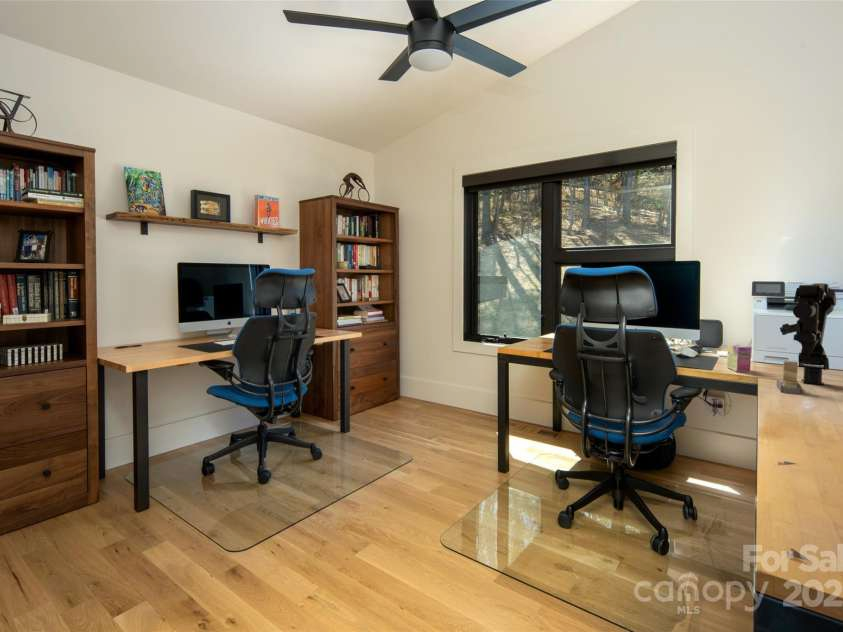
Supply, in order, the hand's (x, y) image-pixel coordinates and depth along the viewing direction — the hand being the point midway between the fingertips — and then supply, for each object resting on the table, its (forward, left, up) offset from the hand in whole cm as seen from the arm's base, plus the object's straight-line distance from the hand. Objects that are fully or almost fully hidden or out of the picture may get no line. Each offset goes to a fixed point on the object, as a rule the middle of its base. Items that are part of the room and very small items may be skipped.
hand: (806, 357), depth 179 cm
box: (-30, -20, -12) cm, 38 cm away
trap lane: (+7, -6, -12) cm, 15 cm away
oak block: (+8, -6, -10) cm, 14 cm away
